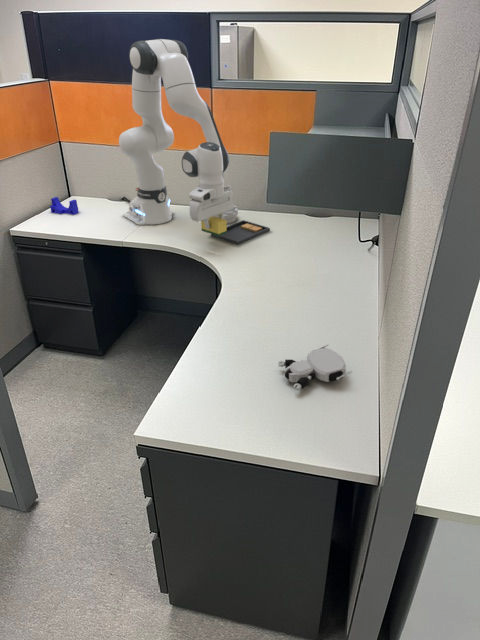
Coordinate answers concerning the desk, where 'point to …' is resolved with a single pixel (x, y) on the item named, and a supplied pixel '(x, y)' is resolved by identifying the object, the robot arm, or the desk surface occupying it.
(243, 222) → the tray
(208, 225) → the robot arm
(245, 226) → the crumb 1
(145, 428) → the desk surface
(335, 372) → the robot toy
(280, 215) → the desk surface
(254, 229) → the crumb
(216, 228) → the sponge
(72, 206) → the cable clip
